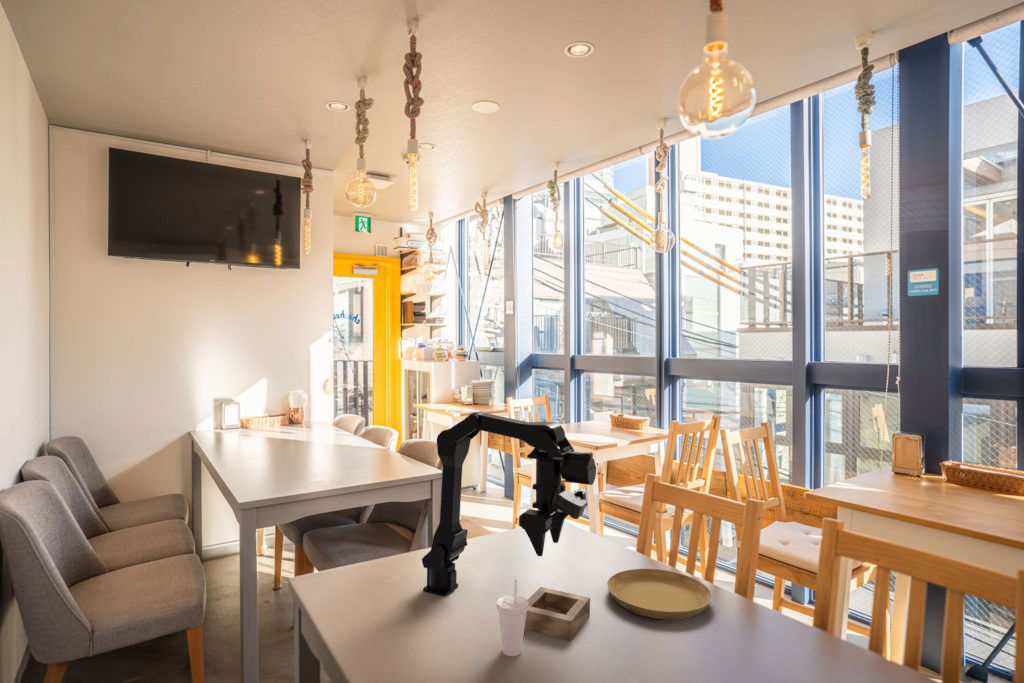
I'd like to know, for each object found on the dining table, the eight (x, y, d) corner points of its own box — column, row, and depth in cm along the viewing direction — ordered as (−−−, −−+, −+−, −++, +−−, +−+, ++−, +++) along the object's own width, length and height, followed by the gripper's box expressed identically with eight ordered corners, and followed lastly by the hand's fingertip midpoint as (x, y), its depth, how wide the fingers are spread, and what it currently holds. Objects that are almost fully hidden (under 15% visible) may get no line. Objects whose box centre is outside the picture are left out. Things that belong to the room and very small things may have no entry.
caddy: (518, 627, 121) (518, 608, 121) (540, 604, 132) (540, 586, 132) (571, 640, 116) (571, 621, 116) (589, 615, 126) (590, 597, 126)
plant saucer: (615, 574, 150) (615, 561, 150) (712, 588, 142) (712, 575, 142) (598, 615, 127) (598, 600, 127) (711, 635, 119) (712, 619, 119)
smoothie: (525, 662, 108) (526, 588, 108) (492, 657, 109) (493, 585, 109) (530, 644, 114) (531, 575, 114) (499, 640, 115) (500, 572, 115)
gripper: (567, 493, 115) (566, 570, 115) (596, 474, 131) (595, 542, 131) (518, 487, 120) (517, 560, 120) (551, 469, 136) (551, 534, 136)
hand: (547, 549), depth 127 cm, fingers open, 9 cm apart
